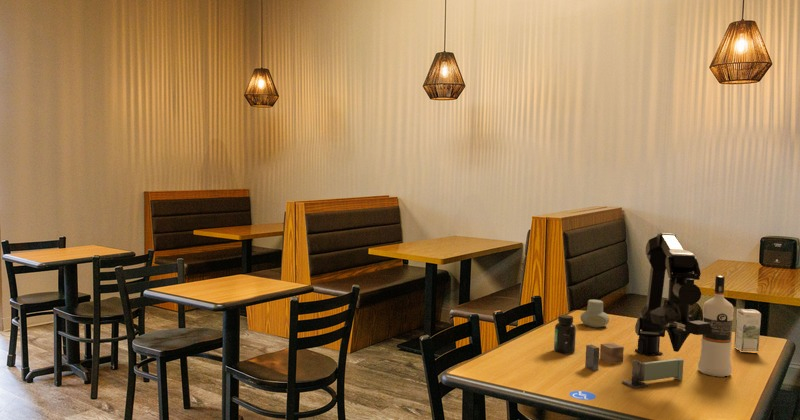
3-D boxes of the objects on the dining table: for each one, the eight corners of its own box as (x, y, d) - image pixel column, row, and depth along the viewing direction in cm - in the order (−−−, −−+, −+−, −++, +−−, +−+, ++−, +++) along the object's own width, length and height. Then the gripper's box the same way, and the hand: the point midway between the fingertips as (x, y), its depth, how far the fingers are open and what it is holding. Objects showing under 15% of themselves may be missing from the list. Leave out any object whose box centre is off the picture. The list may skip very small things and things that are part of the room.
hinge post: (635, 381, 183) (636, 357, 182) (648, 386, 178) (649, 362, 178) (622, 383, 181) (623, 359, 180) (634, 388, 176) (635, 364, 176)
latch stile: (591, 366, 195) (592, 344, 195) (599, 370, 192) (600, 347, 192) (585, 367, 195) (586, 345, 194) (592, 370, 191) (593, 348, 191)
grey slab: (641, 384, 179) (642, 364, 179) (637, 382, 181) (638, 362, 180) (682, 379, 185) (683, 359, 185) (677, 377, 187) (678, 358, 186)
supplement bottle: (552, 353, 209) (554, 317, 208) (555, 347, 215) (556, 313, 215) (573, 355, 207) (575, 319, 206) (575, 350, 213) (577, 315, 212)
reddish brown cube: (612, 357, 206) (612, 342, 205) (622, 362, 201) (623, 347, 201) (599, 359, 204) (600, 344, 203) (610, 363, 199) (611, 348, 199)
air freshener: (581, 327, 245) (582, 302, 244) (578, 322, 253) (580, 298, 252) (610, 329, 243) (611, 304, 242) (607, 324, 251) (608, 299, 251)
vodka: (728, 370, 195) (734, 274, 193) (734, 379, 187) (740, 279, 185) (695, 366, 198) (701, 272, 196) (700, 375, 189) (705, 277, 187)
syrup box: (750, 349, 220) (753, 308, 219) (758, 354, 214) (761, 312, 213) (733, 348, 220) (736, 307, 219) (741, 353, 214) (743, 311, 213)
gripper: (632, 292, 183) (630, 344, 184) (684, 305, 165) (680, 363, 166) (662, 290, 187) (659, 341, 188) (715, 303, 170) (711, 360, 171)
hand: (676, 351), depth 178 cm, fingers closed
